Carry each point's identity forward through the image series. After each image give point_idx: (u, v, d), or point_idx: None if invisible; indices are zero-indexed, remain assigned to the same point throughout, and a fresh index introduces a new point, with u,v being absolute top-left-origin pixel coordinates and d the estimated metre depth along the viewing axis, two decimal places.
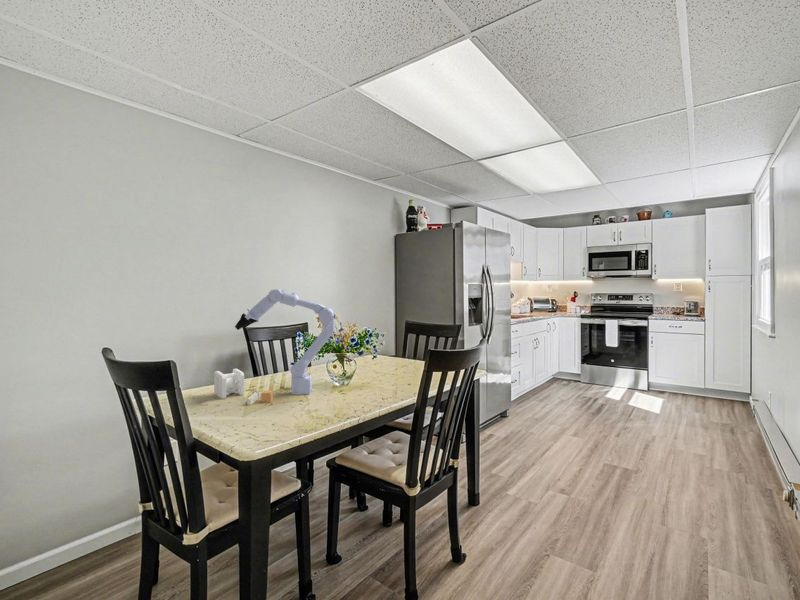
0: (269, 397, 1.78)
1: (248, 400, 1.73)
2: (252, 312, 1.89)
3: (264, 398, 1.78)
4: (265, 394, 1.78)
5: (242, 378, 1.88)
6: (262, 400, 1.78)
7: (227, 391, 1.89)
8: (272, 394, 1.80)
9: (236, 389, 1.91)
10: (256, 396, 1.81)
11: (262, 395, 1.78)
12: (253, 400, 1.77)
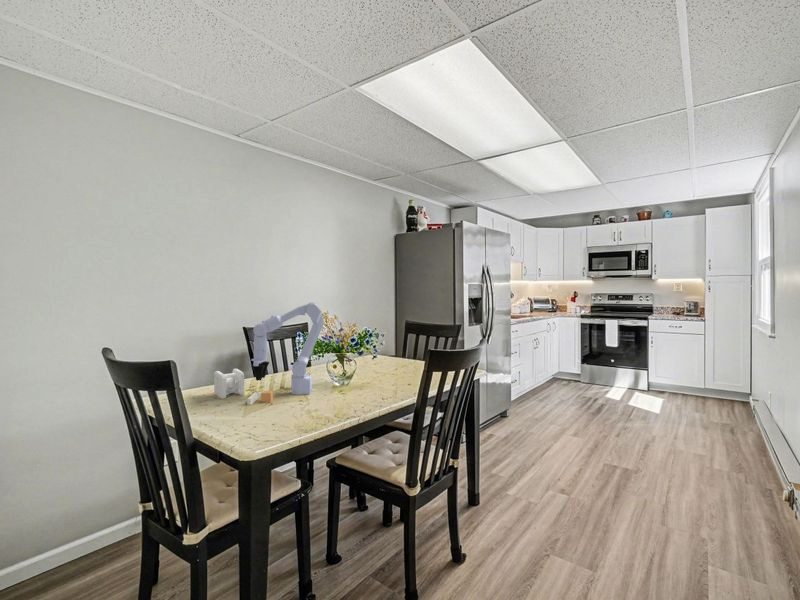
0: (269, 397, 1.78)
1: (248, 400, 1.73)
2: (257, 358, 1.87)
3: (264, 398, 1.78)
4: (265, 394, 1.78)
5: (242, 378, 1.88)
6: (262, 400, 1.78)
7: (227, 391, 1.89)
8: (272, 394, 1.80)
9: (236, 389, 1.91)
10: (256, 396, 1.81)
11: (262, 395, 1.78)
12: (253, 400, 1.77)
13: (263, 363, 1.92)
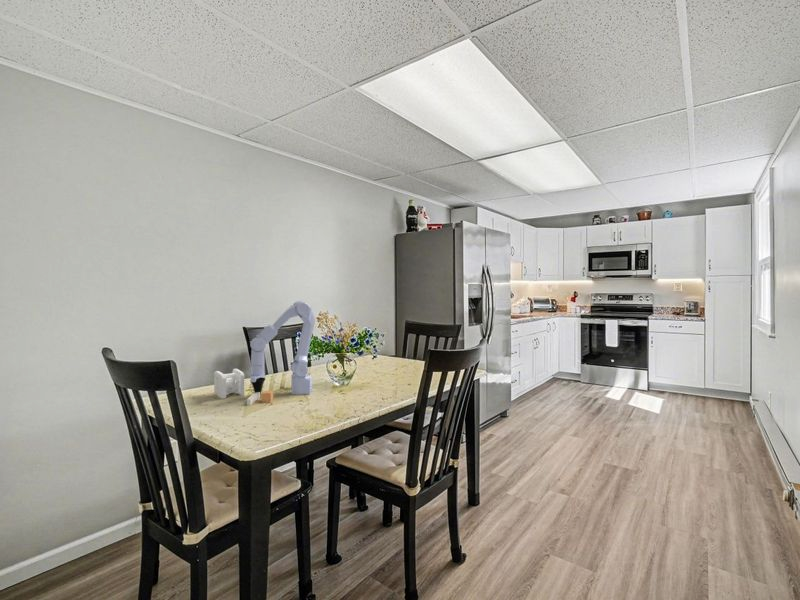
0: (269, 397, 1.78)
1: (248, 400, 1.73)
2: (254, 373, 1.83)
3: (264, 398, 1.78)
4: (265, 394, 1.78)
5: (242, 378, 1.88)
6: (262, 400, 1.78)
7: (227, 391, 1.89)
8: (272, 394, 1.80)
9: (236, 389, 1.91)
10: (256, 396, 1.81)
11: (262, 395, 1.78)
12: (253, 400, 1.77)
13: None
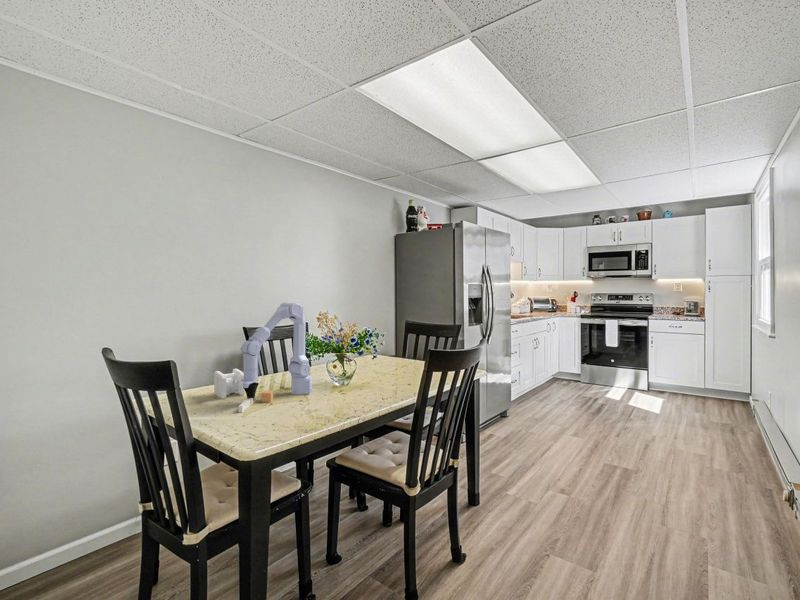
0: (269, 397, 1.78)
1: (239, 407, 1.63)
2: (246, 378, 1.73)
3: (264, 398, 1.78)
4: (265, 394, 1.78)
5: (242, 378, 1.88)
6: (262, 400, 1.78)
7: (227, 391, 1.89)
8: (272, 394, 1.80)
9: (236, 389, 1.91)
10: (248, 403, 1.71)
11: (262, 395, 1.78)
12: (245, 407, 1.67)
13: None
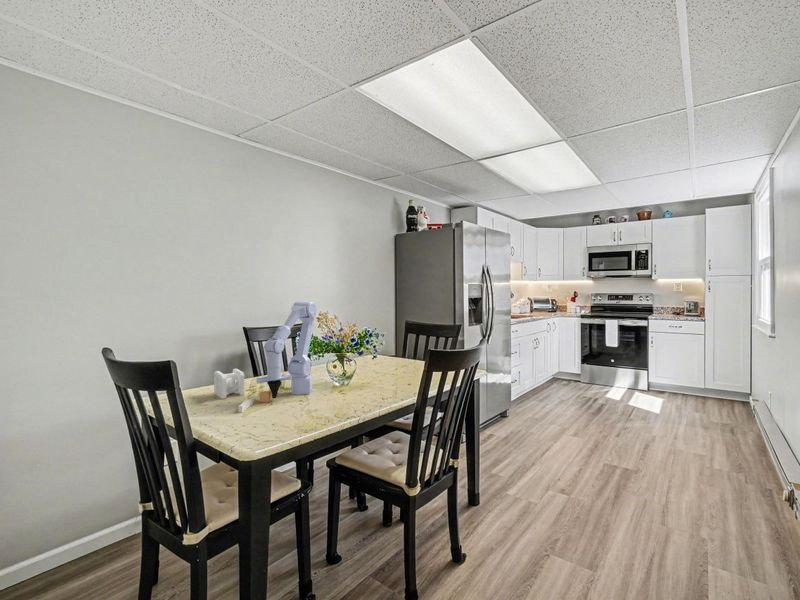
0: (267, 397, 1.78)
1: (239, 407, 1.63)
2: (267, 375, 1.79)
3: (262, 398, 1.78)
4: (263, 394, 1.78)
5: (242, 378, 1.88)
6: (260, 400, 1.78)
7: (227, 391, 1.89)
8: (270, 394, 1.81)
9: (236, 389, 1.91)
10: (248, 403, 1.71)
11: (260, 395, 1.78)
12: (245, 407, 1.66)
13: None
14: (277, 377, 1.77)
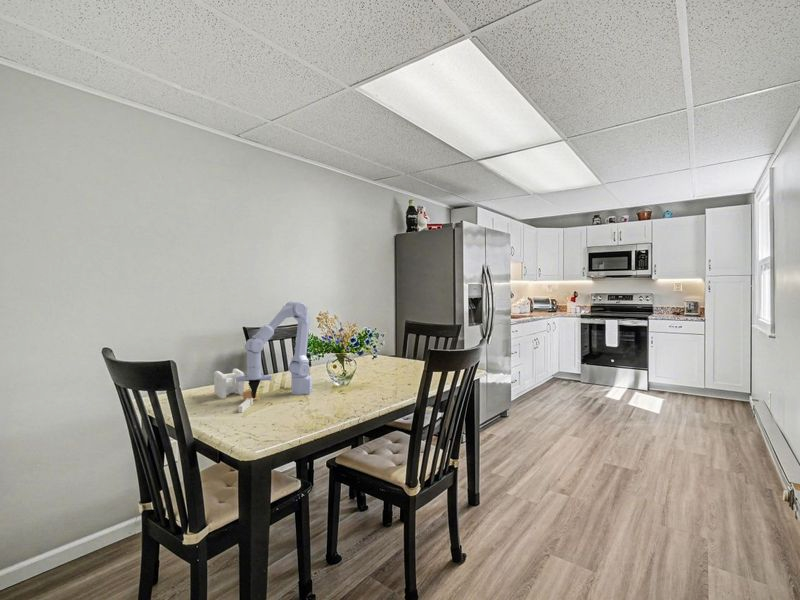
0: (250, 396, 1.78)
1: (239, 407, 1.63)
2: None
3: (245, 397, 1.79)
4: (246, 393, 1.79)
5: None
6: (244, 399, 1.79)
7: (227, 391, 1.89)
8: None
9: (236, 389, 1.91)
10: (248, 403, 1.71)
11: (243, 394, 1.79)
12: (245, 407, 1.66)
13: None
14: (254, 377, 1.76)
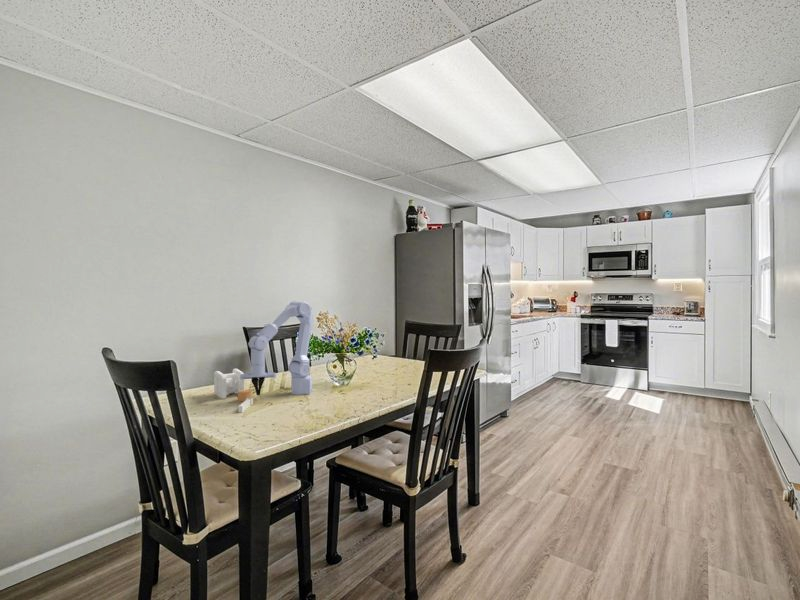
0: (244, 396, 1.78)
1: (239, 407, 1.63)
2: None
3: (240, 397, 1.79)
4: (240, 393, 1.79)
5: None
6: (238, 399, 1.79)
7: (227, 391, 1.89)
8: (249, 394, 1.81)
9: (236, 389, 1.91)
10: (248, 403, 1.71)
11: (238, 394, 1.79)
12: (245, 407, 1.66)
13: None
14: (259, 374, 1.77)
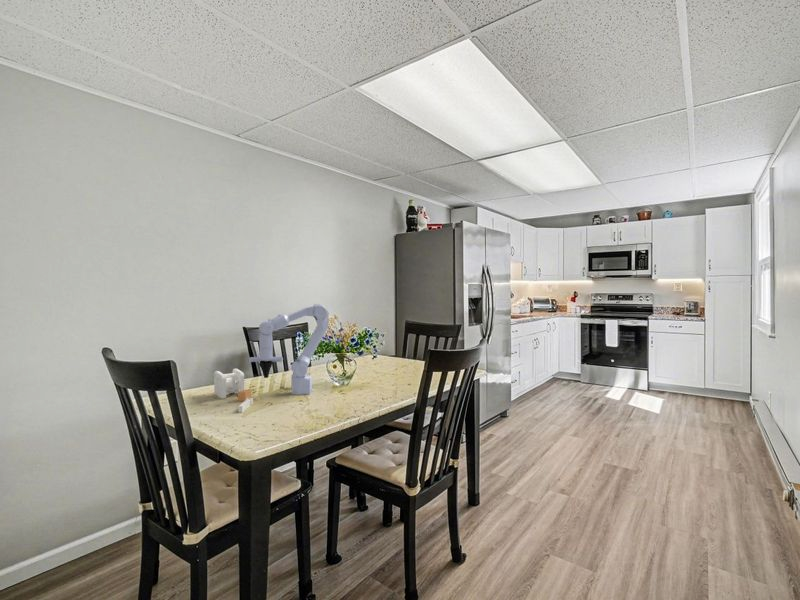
0: (244, 396, 1.78)
1: (239, 407, 1.63)
2: None
3: (240, 397, 1.79)
4: (240, 393, 1.79)
5: (242, 378, 1.88)
6: (238, 399, 1.79)
7: (227, 391, 1.89)
8: (249, 394, 1.81)
9: (236, 389, 1.91)
10: (248, 403, 1.71)
11: (238, 394, 1.79)
12: (245, 407, 1.66)
13: None
14: (265, 358, 1.85)
